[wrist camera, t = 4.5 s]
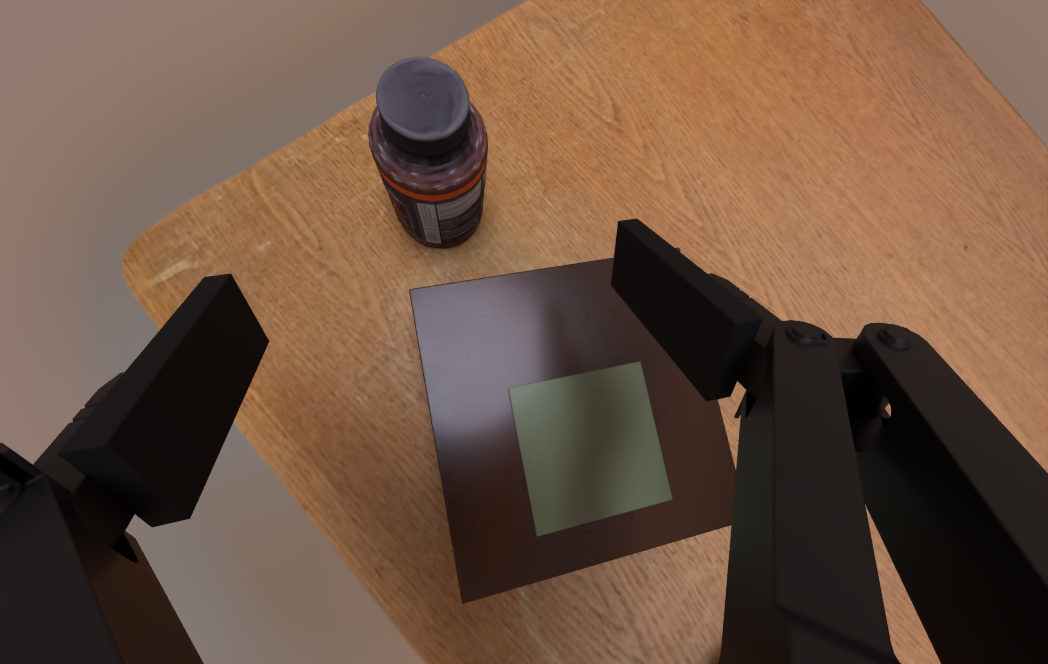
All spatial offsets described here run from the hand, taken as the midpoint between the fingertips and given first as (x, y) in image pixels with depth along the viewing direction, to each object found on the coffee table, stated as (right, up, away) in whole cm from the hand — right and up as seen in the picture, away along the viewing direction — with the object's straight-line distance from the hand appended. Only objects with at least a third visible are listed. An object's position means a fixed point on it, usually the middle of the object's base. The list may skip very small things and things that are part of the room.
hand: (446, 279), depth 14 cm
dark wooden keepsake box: (+5, -7, +13) cm, 16 cm away
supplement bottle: (-3, +7, +14) cm, 16 cm away
